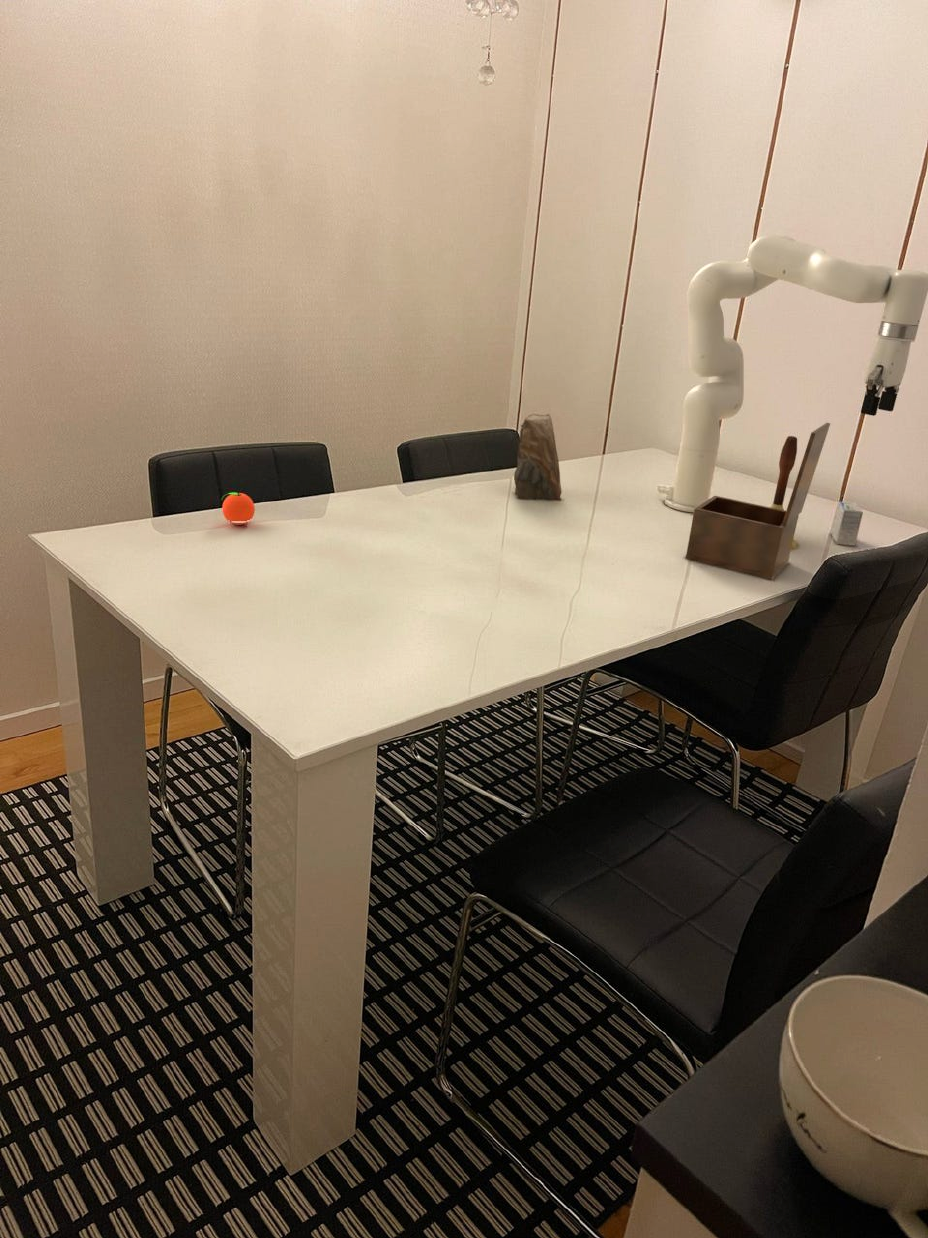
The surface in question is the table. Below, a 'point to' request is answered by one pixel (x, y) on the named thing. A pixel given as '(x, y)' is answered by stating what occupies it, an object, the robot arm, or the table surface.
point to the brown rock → (537, 460)
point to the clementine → (238, 508)
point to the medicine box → (847, 523)
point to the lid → (806, 473)
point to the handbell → (785, 473)
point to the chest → (741, 537)
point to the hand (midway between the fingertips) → (876, 412)
